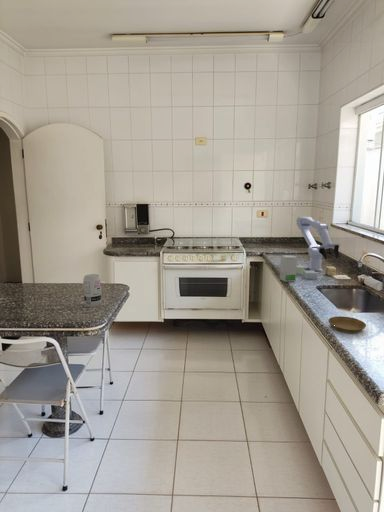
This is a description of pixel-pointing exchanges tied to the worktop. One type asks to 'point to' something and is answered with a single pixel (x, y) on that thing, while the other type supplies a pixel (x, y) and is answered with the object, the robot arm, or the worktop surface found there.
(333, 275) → the card
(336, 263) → the worktop surface
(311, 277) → the blue-grey base block
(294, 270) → the skincare box
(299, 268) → the sage block
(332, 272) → the maple block
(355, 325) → the plant saucer
